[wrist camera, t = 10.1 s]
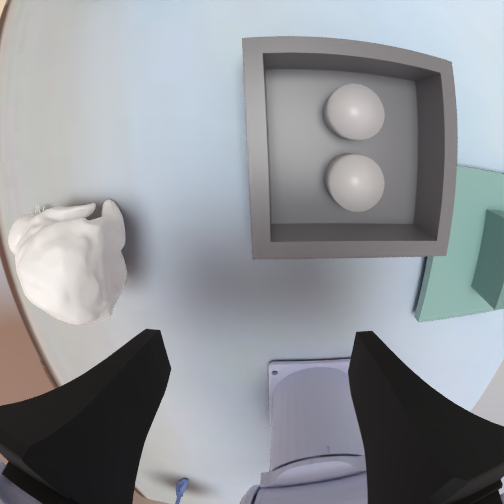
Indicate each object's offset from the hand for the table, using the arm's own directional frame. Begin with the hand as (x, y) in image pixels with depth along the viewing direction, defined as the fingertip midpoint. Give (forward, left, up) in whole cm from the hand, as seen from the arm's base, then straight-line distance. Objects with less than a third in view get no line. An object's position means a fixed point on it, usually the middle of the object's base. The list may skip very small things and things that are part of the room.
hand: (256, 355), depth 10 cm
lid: (+1, -17, -9) cm, 19 cm away
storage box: (+7, -5, -9) cm, 13 cm away
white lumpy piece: (+2, +14, -10) cm, 17 cm away
